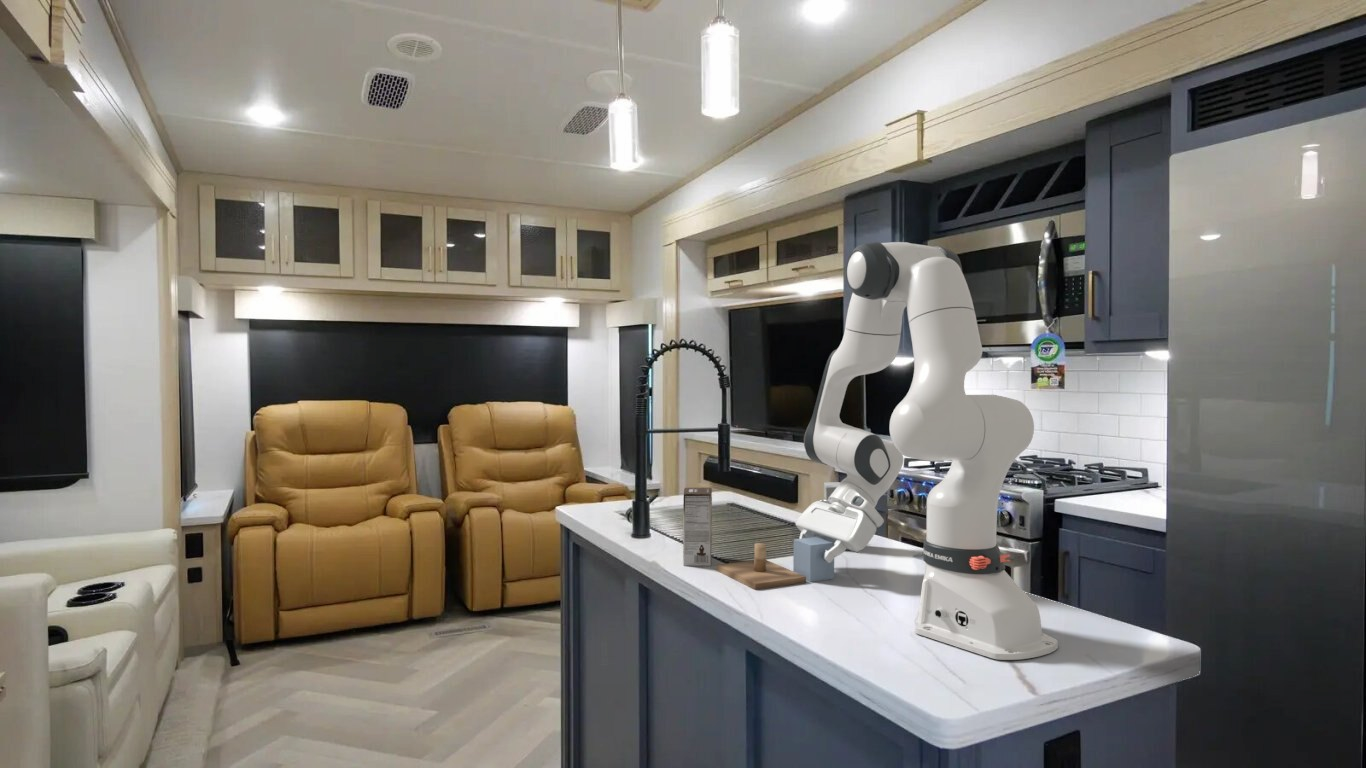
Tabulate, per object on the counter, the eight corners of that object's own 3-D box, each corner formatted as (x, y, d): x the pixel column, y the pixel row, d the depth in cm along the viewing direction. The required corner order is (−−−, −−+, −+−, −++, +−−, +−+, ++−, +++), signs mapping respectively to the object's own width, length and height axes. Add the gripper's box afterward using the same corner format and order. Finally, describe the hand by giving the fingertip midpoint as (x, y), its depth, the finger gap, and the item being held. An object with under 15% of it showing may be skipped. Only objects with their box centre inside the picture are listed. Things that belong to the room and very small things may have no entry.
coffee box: (683, 556, 175) (683, 486, 175) (711, 556, 175) (711, 487, 175) (682, 566, 166) (683, 493, 166) (711, 566, 166) (712, 493, 166)
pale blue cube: (834, 578, 157) (834, 542, 156) (810, 582, 154) (810, 545, 154) (816, 571, 162) (817, 536, 162) (793, 574, 159) (793, 539, 159)
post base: (806, 582, 153) (806, 549, 153) (755, 589, 148) (755, 555, 148) (764, 564, 168) (764, 534, 168) (716, 570, 163) (716, 539, 162)
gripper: (812, 488, 170) (775, 535, 166) (872, 502, 152) (832, 556, 148) (828, 506, 172) (792, 553, 168) (889, 523, 154) (850, 576, 150)
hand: (811, 555), depth 158 cm, fingers open, 8 cm apart
